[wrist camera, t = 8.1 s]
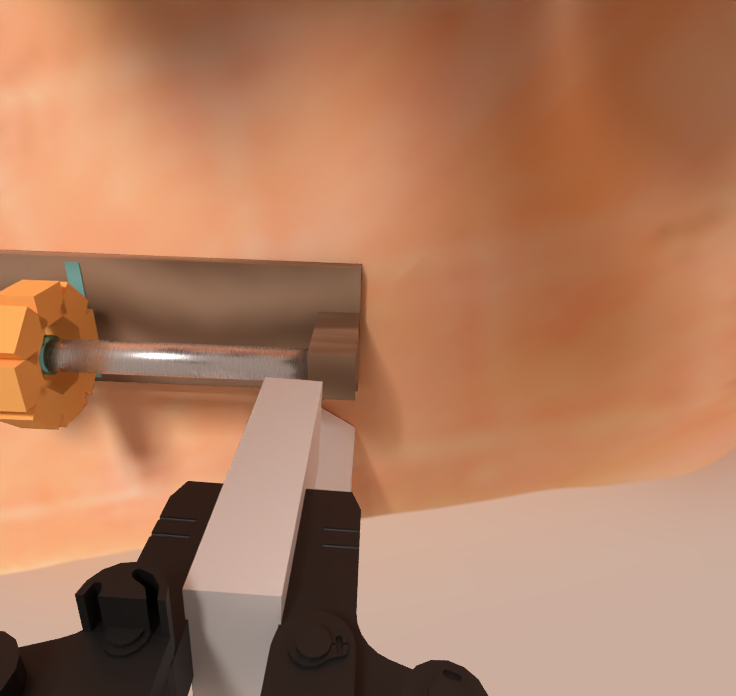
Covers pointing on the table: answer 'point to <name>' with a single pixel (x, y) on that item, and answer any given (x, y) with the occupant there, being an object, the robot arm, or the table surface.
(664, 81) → the table surface
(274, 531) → the robot arm
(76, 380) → the ring
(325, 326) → the rack
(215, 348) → the pipe
